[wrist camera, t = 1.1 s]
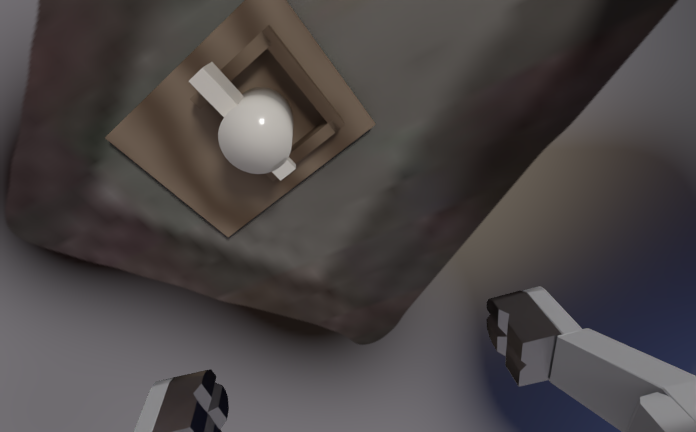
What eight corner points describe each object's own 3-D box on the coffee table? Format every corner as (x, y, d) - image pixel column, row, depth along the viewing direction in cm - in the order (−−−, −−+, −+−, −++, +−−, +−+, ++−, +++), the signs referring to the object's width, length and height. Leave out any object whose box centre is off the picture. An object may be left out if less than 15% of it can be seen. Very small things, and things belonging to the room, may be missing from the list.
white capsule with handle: (312, 129, 36) (313, 154, 30) (269, 164, 37) (263, 194, 31) (236, 40, 31) (220, 49, 25) (191, 84, 32) (165, 101, 26)
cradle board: (269, -23, 30) (266, -26, 27) (374, 121, 37) (379, 130, 35) (109, 134, 35) (94, 144, 32) (229, 232, 42) (224, 247, 40)
